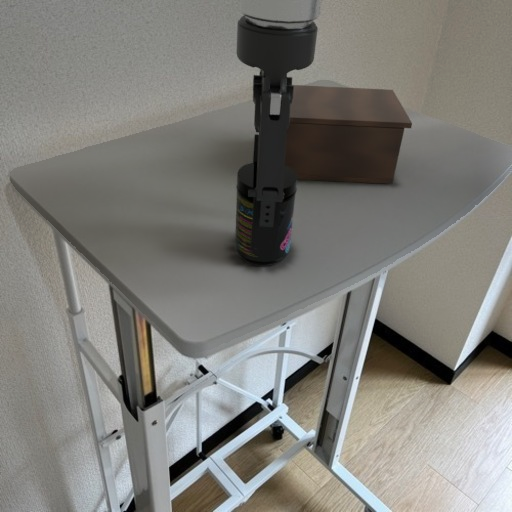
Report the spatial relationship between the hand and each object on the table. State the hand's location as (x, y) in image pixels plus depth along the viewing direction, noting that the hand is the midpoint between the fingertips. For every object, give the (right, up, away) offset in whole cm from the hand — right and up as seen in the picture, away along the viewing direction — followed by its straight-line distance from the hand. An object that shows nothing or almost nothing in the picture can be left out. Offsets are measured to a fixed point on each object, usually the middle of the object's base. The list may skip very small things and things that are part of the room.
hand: (262, 213), depth 64 cm
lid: (+12, +17, +19) cm, 29 cm away
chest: (+11, +10, +24) cm, 29 cm away
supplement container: (0, -5, +3) cm, 6 cm away
